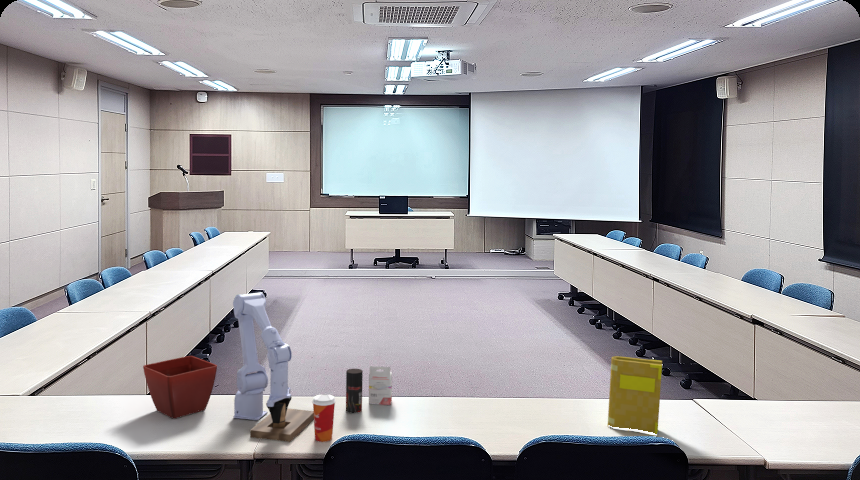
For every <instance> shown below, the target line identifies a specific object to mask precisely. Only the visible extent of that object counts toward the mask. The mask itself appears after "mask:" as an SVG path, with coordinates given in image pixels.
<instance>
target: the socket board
mask: <svg viewBox="0 0 860 480" xmlns="http://www.w3.org/2000/svg"><path fill="white" fill-rule="evenodd" d="M285 419H286V420H285V428H284V429H281V428H273V421H272V417H271V414H270V413H269V414H268V415H267V416H266V417H265V418H263V419H262V420H261V421H260V422H258V423H257V424H256V425H255V426H253V427H252V428H251V429H249V437H250V438H251V439H252V438H253V439H258V440H259V439H260V440H261V439H262V440H268V441H269V440H270V441H278V442H285V443H286V442H287V443H291V442H292V441H293V440H294V439H295V438H296V437H297V436H298V435H299V434H300V433H301V432H302V431H303V430H304V429H305V428H306V427H307V426H308V425H309V424H310V423H312V421H314V411H313V410H305V409H297V408H289V407H288V408H287V412H286V416H285Z"/></svg>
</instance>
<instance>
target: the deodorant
mask: <svg viewBox="0 0 860 480" xmlns="http://www.w3.org/2000/svg"><path fill="white" fill-rule="evenodd" d="M363 371H364V370H363V369H361V368H349V369H347V370H346V373H345V374H346V375H345V380H346V381H345V382H346V383H345V412H346V413H348V414H359V413H361V412H362V411H363V377H364V375H363Z"/></svg>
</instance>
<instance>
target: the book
mask: <svg viewBox="0 0 860 480" xmlns="http://www.w3.org/2000/svg"><path fill="white" fill-rule="evenodd" d="M662 370H663V360H659V359H658V360H657V359H645V358H637V357H628V356H620V355H619V356H618V355H615V356H611V364H610V376H609V377H610V378H609V396H608V413H607V426H608V425H610V426H612V427H619V428H629V429H630V428H631V429H638V430H643V431H648V432H653V433H655V434H657V433H658V432H659V431H658V430H659V419H660V418H659V417H660V414H659V413H660V404H661V403H660V401H661V400H660V398H661V388H662V387H661V386H662V385H661V384H662Z"/></svg>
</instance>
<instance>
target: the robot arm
mask: <svg viewBox="0 0 860 480" xmlns="http://www.w3.org/2000/svg"><path fill="white" fill-rule="evenodd" d="M232 305H233V306H232V308H233V314H234V318H235V319H237V321H238V328H239V335H240V336H239V337H240V346H241V354H242V362H243V366H241V368H240V369H238V371H237V372H236V387H237V392H236V393H235V396H234V399H233V402H234V406H233V407H234V411H233V412H234V414H233V416H232V417H233V419H241V420H251V421H259V420H261V419H262V418H263V417H264V416H265V415H267V414H268V411H269V414H271V417H272V421H273V423H277V424H279V422H280V417H281V411H282V408H283V406H284V404H280V403H285V416H286V412H287V408H288V409H289V405H290V403H291V400H292V394H291V390H292V389H291V387H289V386H288V385H289V362H291V360H292V357H293V356H292V355H293V354H292V353H293V352H292V350H291V347H290V346H289V344H288V343H286V342H284V341H283V339H282V337H281V335H280V333H279V331H278V329H277V328H276V327H274V326H272V323H271V321H270V319H269V316H268V314H267V313H268V312H267V311H266V307H267V300H266V296H265V294H264V293H263V292H261V291H258V292H253V293H251V292H250V293H245V294H243V293H242V294H240V293H239V294H236V295H235V297H234V299H233V301H232ZM254 321H255V322H256V324H257V325H258V327H259V329H260V331H261V334H260V338H261V340H262V343H264V346H265V348H266V350H267V353H266V357H267V360H268V368H269V369H270V378H269V376H268V373H267V370H266V368H265V366H263V365H262V364H260V363H259V358H258V357H259V356H258V348H257V342H256V334H255V326H254ZM269 379H270V387H269V388H270V389H269V391H270V394H269V397H268V399H267V401H266V404H265V405H266V407H267V409H268V411H267V410H266V411H265V410H264V392H265V390H266V388H267V387H268V386H269V385H268V384H269Z"/></svg>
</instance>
